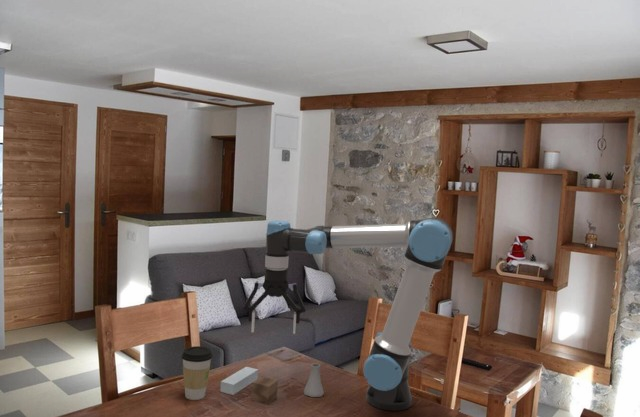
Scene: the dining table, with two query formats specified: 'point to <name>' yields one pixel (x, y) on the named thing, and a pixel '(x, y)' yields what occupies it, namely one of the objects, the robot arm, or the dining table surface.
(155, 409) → the dining table surface
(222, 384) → the white rectangular block
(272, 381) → the walnut block
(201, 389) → the coffee cup
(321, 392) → the flask
